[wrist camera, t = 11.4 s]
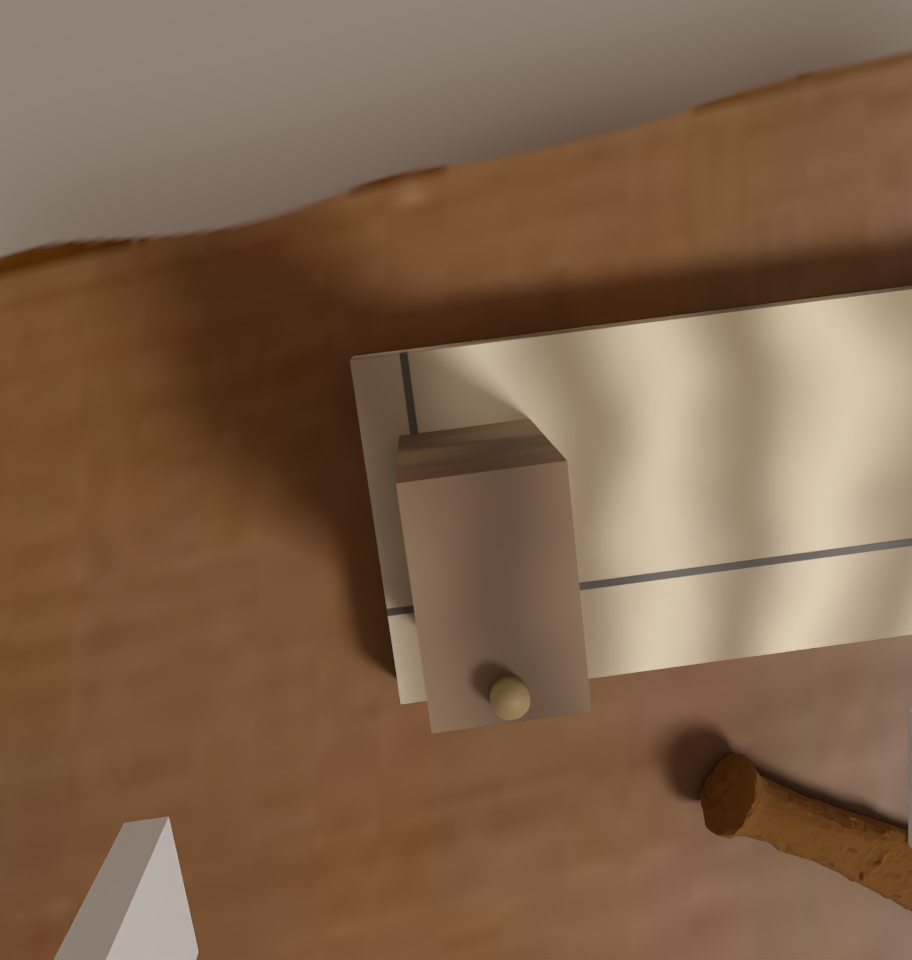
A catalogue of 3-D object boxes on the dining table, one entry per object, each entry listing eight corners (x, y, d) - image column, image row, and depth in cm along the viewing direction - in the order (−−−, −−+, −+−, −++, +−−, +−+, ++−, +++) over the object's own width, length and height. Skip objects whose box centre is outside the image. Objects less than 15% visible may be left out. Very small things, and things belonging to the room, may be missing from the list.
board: (401, 682, 37) (400, 704, 35) (353, 356, 34) (349, 360, 32) (1038, 595, 38) (1072, 612, 36) (1048, 268, 35) (1087, 267, 33)
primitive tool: (1068, 873, 42) (1127, 925, 38) (1008, 963, 43) (1060, 1022, 39) (719, 732, 39) (749, 775, 36) (664, 832, 40) (688, 883, 37)
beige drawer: (426, 631, 35) (432, 743, 26) (398, 435, 33) (395, 488, 24) (550, 615, 35) (595, 720, 26) (529, 418, 33) (570, 464, 25)
